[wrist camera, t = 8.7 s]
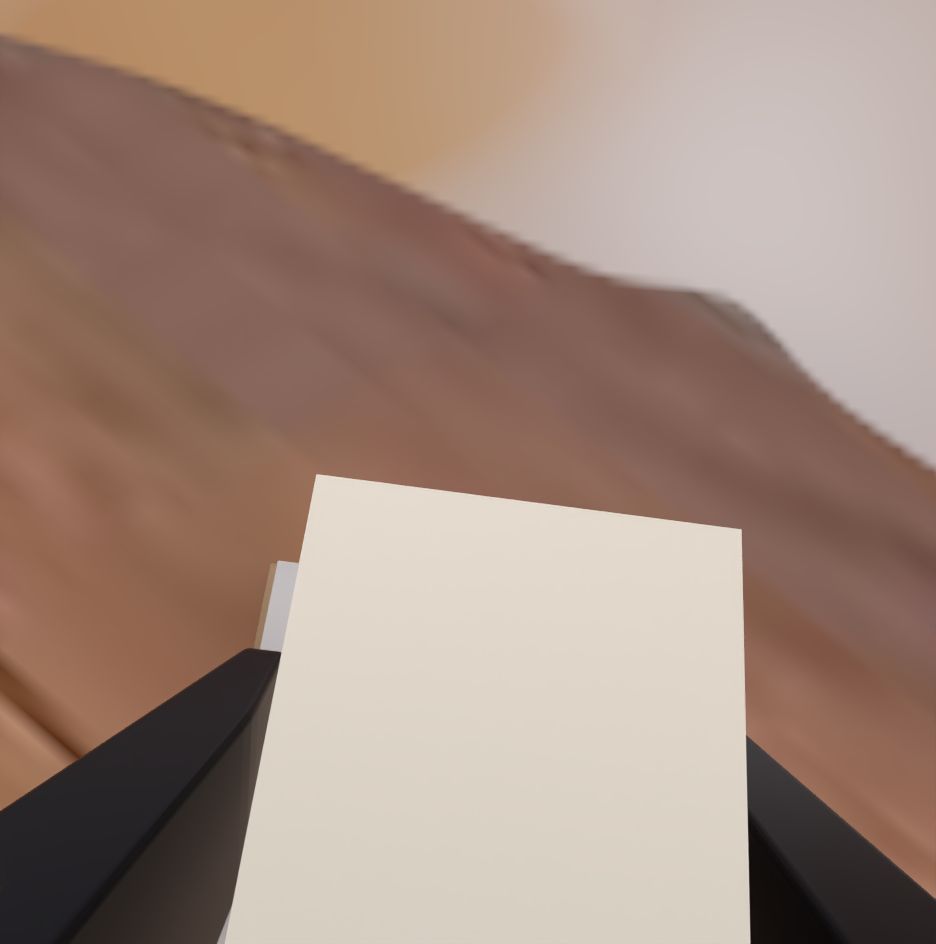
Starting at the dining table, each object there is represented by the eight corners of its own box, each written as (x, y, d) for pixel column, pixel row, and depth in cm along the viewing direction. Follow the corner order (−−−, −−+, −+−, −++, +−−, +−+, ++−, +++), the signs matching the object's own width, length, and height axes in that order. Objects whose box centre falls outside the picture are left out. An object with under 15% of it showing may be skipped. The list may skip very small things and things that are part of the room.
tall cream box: (496, 989, 15) (759, 1383, 4) (328, 970, 15) (151, 1324, 4) (517, 728, 17) (740, 530, 6) (368, 710, 17) (316, 474, 6)
